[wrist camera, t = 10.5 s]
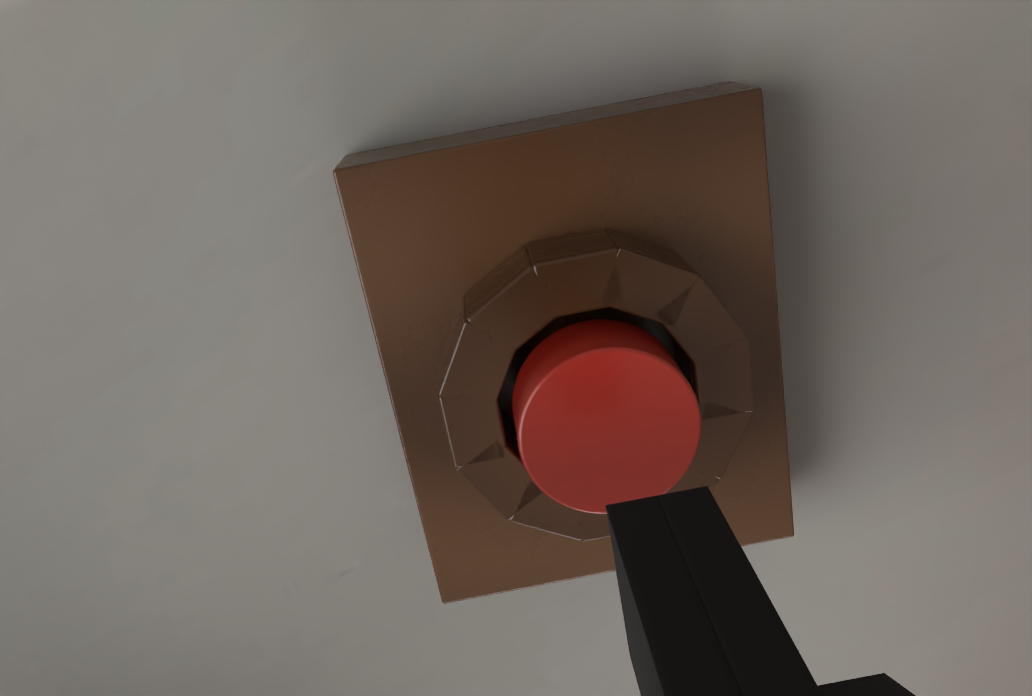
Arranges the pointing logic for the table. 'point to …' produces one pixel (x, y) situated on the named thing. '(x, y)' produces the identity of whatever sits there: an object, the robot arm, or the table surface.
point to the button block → (571, 310)
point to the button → (604, 416)
